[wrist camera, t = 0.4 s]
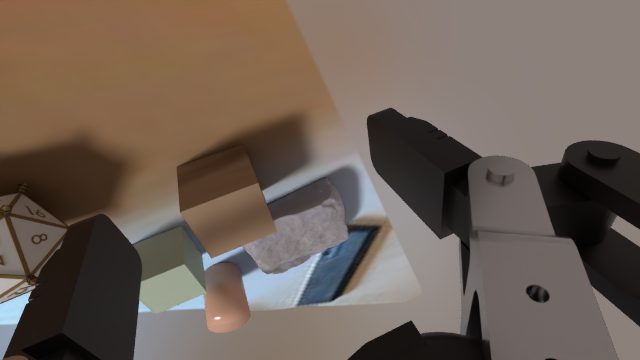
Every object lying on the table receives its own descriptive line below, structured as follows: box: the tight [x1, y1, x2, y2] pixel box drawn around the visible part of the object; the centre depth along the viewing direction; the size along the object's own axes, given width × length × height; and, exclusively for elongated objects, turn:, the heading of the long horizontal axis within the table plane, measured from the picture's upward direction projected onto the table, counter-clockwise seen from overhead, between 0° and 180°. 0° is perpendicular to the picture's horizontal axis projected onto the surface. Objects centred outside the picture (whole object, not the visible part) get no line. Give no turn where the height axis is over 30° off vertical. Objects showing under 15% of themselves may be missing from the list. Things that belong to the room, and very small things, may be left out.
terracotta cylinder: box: [204, 262, 250, 333], centre depth 36 cm, size 4×4×6 cm
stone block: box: [242, 178, 349, 274], centre depth 36 cm, size 12×5×10 cm
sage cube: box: [133, 226, 207, 314], centre depth 31 cm, size 5×5×5 cm
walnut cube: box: [177, 144, 277, 258], centre depth 28 cm, size 6×6×6 cm
